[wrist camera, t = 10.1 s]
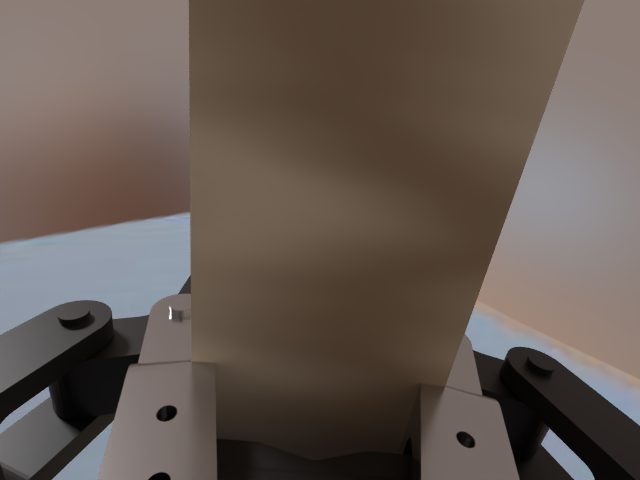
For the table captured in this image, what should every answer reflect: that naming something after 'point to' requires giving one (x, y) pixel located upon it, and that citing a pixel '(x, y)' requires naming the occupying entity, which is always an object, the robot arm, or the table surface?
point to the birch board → (352, 199)
